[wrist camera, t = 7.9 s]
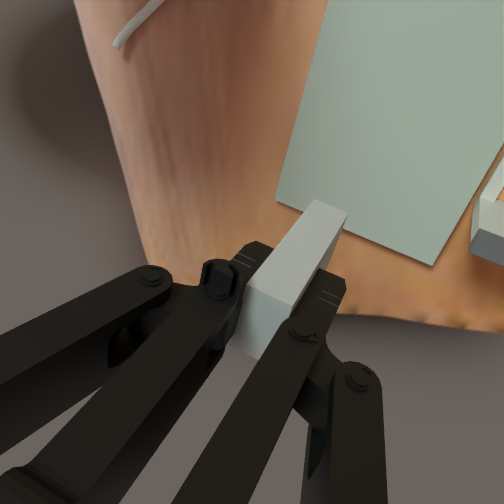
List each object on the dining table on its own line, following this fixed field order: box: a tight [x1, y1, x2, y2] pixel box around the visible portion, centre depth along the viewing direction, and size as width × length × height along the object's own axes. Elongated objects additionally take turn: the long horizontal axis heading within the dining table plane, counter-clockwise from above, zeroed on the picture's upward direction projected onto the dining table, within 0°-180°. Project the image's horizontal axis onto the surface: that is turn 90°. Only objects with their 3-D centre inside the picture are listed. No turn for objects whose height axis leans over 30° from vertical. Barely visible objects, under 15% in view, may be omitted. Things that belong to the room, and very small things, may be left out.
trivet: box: [274, 0, 504, 266], centre depth 32 cm, size 18×14×1 cm
